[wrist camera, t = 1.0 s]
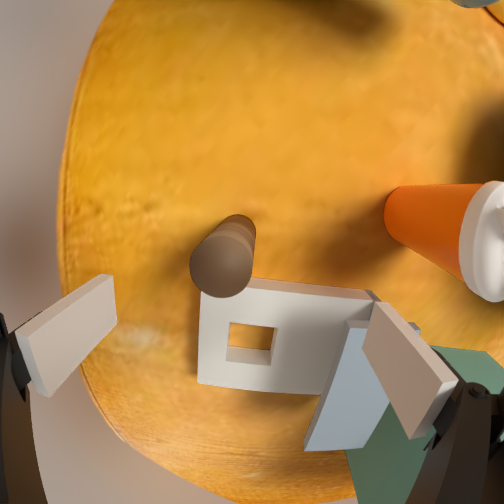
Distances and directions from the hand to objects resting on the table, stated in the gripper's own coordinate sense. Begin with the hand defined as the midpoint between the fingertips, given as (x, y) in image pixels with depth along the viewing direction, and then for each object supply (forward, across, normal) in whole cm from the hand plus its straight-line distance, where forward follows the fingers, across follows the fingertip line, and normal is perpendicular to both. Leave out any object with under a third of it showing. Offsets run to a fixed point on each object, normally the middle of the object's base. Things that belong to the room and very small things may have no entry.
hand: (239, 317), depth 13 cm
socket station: (+19, +5, -12) cm, 23 cm away
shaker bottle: (+19, +18, +5) cm, 27 cm away
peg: (+19, -2, +1) cm, 19 cm away
